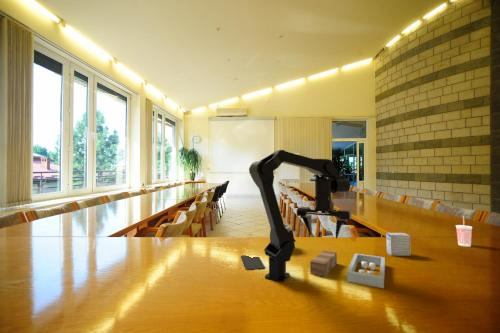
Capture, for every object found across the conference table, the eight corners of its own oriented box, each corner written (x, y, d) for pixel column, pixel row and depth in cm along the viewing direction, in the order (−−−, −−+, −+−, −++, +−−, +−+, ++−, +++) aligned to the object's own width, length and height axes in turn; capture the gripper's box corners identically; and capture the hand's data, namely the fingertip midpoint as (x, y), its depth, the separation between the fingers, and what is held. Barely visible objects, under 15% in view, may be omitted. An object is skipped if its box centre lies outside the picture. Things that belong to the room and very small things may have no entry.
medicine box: (405, 253, 108) (405, 232, 108) (411, 256, 104) (410, 235, 104) (386, 252, 109) (385, 232, 109) (391, 256, 104) (390, 235, 105)
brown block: (325, 278, 83) (324, 264, 83) (310, 274, 86) (310, 261, 86) (336, 264, 96) (336, 252, 96) (323, 261, 98) (323, 250, 99)
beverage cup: (453, 244, 121) (452, 215, 122) (460, 242, 124) (459, 214, 124) (468, 247, 116) (467, 217, 116) (475, 246, 118) (474, 216, 119)
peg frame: (383, 288, 75) (383, 278, 75) (346, 281, 80) (346, 271, 80) (384, 265, 94) (384, 257, 94) (354, 260, 99) (354, 253, 99)
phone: (245, 269, 89) (240, 255, 104) (245, 271, 89) (240, 257, 104) (265, 267, 91) (257, 254, 105) (265, 270, 91) (257, 256, 105)
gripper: (353, 193, 94) (353, 234, 94) (304, 191, 103) (304, 229, 103) (349, 195, 85) (349, 242, 84) (295, 193, 94) (296, 235, 93)
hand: (323, 236), depth 91 cm, fingers open, 9 cm apart
